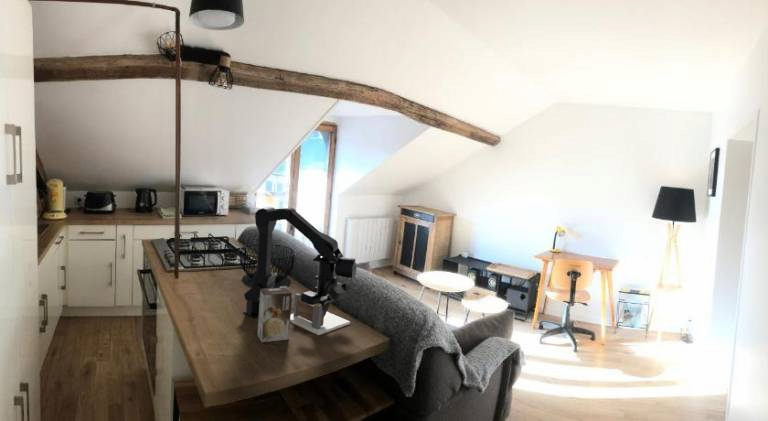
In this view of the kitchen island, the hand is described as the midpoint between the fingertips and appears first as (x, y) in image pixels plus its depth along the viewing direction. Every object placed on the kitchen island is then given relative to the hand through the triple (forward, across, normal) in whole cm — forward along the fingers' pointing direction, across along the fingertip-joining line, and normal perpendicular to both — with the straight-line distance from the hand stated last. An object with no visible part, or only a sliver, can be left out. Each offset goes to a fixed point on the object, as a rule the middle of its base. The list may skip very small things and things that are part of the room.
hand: (323, 315), depth 164 cm
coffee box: (+3, -20, +3) cm, 21 cm away
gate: (+2, -3, +4) cm, 5 cm away
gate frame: (+4, +1, +4) cm, 6 cm away
